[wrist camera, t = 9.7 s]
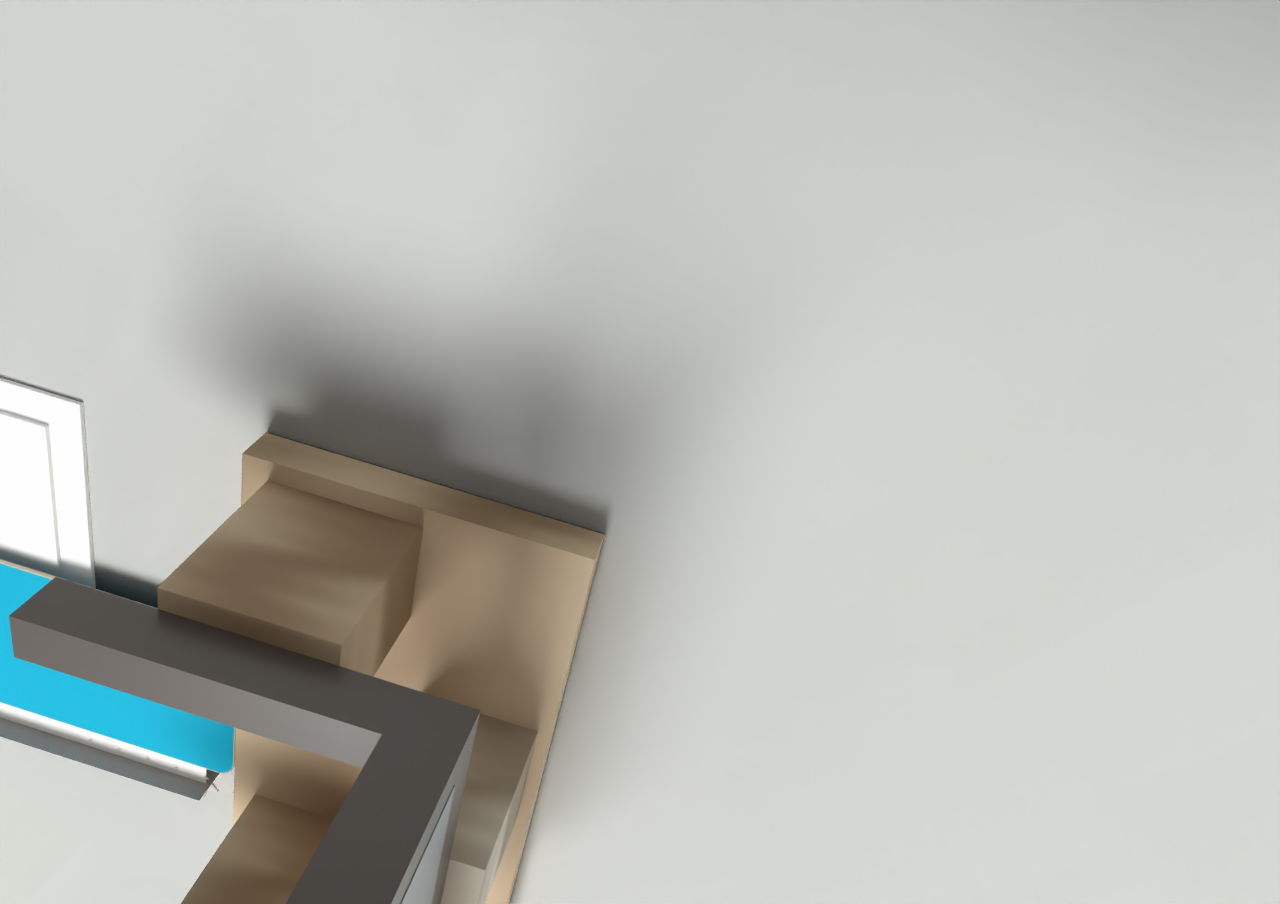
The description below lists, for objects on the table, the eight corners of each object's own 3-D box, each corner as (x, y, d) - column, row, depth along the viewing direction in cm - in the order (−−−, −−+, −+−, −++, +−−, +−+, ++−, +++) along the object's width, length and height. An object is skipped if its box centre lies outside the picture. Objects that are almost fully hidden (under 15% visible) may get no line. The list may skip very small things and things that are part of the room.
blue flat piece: (427, 491, 23) (399, 529, 22) (380, 822, 29) (355, 869, 28) (-352, 254, 24) (-428, 275, 23) (-243, 622, 30) (-298, 657, 28)
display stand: (604, 534, 22) (545, 686, 18) (506, 913, 29) (446, 1089, 25) (266, 432, 22) (125, 556, 18) (250, 831, 29) (147, 989, 25)
